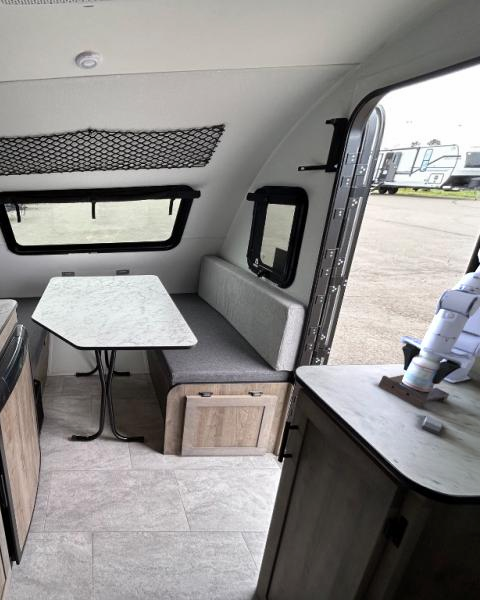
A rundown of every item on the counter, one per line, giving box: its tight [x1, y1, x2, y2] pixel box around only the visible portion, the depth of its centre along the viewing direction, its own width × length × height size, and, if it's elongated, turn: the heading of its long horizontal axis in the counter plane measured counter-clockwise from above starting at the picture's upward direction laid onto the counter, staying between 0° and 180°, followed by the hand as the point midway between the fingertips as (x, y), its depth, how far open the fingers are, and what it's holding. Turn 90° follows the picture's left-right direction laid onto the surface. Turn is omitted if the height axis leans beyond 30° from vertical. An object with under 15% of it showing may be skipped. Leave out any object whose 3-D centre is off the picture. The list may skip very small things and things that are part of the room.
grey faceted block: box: [420, 415, 443, 436], centre depth 81 cm, size 6×3×2 cm, turn 131°
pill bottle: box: [402, 349, 443, 392], centre depth 91 cm, size 6×6×11 cm
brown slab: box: [378, 374, 450, 409], centre depth 94 cm, size 12×10×4 cm
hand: (420, 376), depth 92 cm, fingers closed on pill bottle, 6 cm apart
